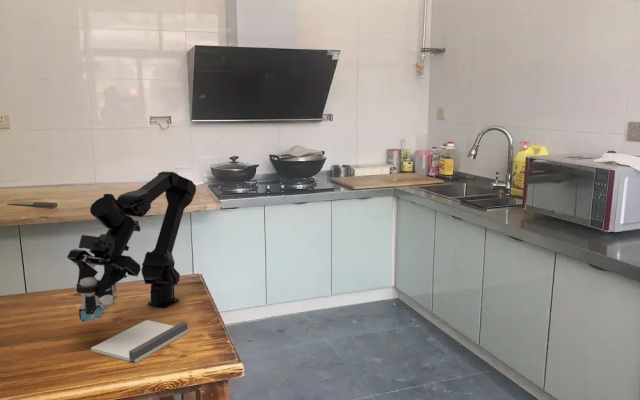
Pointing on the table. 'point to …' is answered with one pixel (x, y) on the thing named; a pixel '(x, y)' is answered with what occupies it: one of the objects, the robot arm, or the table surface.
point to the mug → (107, 297)
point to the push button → (89, 299)
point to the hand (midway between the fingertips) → (87, 294)
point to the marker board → (141, 340)
